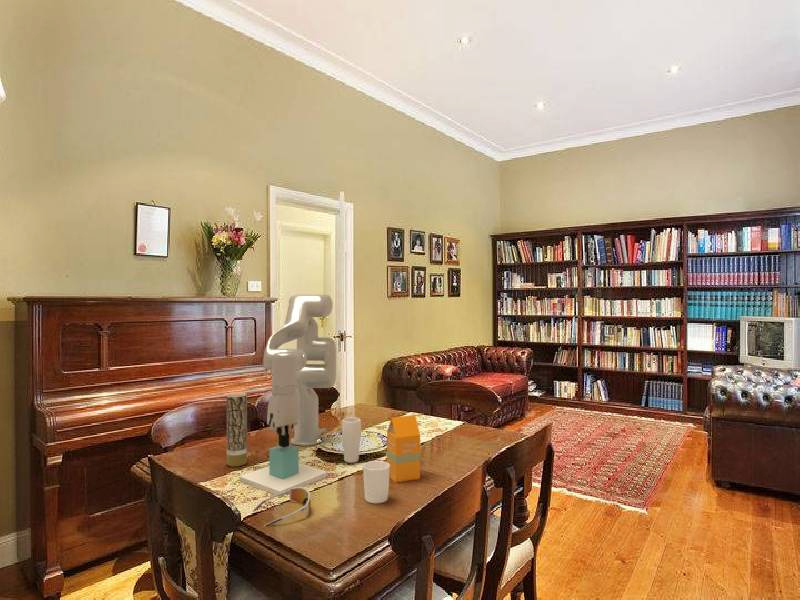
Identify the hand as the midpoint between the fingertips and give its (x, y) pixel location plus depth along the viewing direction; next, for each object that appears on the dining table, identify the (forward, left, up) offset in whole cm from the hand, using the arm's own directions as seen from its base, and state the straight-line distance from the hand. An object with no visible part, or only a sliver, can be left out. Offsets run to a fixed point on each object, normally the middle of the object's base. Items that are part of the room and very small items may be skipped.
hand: (283, 446), depth 160 cm
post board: (0, 0, -11) cm, 11 cm away
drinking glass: (-26, +6, -11) cm, 29 cm away
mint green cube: (0, 0, -9) cm, 9 cm away
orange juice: (-25, +30, -11) cm, 41 cm away
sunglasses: (+16, +19, -11) cm, 27 cm away
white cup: (-6, +34, -11) cm, 36 cm away
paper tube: (+1, -24, -11) cm, 26 cm away
